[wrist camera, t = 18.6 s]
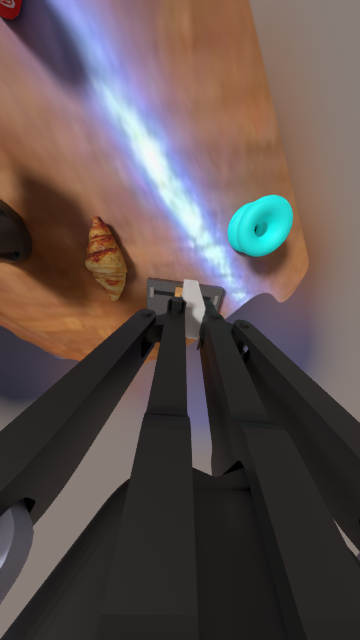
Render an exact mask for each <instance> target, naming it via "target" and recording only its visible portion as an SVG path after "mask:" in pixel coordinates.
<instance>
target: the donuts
mask: <svg viewBox="0 0 360 640" xmlns="http://www.w3.org/2000/svg"><path fill="white" fill-rule="evenodd" d="M292 222H293V212H292V208H291V206H290V204H289V202H288V201H287V200H286V199H284V198H283V197H281V196H277V195H269V196H265V197H262V198H260V199H258V200H256V201H255V202H251V203H248V204H246V205H244V206H242V207H241V208H240V209H238V210H237V212H236V213H235V214H234V215H233V217H232V219H231V221H230V223H229V227H228V240H229V243H230V244H231V246H232V247H233V248H234V249H235V250H237V251H239V252H244V253H246V254H247V255H250V256H254V257H259V256H264V255H267V254H269V253H271V252H273V251H274V250H276V249H277V248H278V247H279V246H280V245H281V244H282V243H283V242H284V241H285V239H286V238H287V236H288V234H289V232H290V230H291V227H292ZM256 225H257V229H256V232H255V227H256Z"/></svg>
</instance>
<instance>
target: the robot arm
mask: <svg viewBox="0 0 360 640" xmlns="http://www.w3.org/2000/svg"><path fill="white" fill-rule="evenodd" d="M31 250H32V243H31V238H30V235H29V233H28V231H27V229H26V227H25V225H24V223H23V222H22V220H21V219H20V218H19V216H18V215H17V214H16V213H15V212H14V211H13V210H12V209H11V208H10V207H9V206H8V205H7V204H5V203H4V202H3V201H1V200H0V263H16V262H21V261H24V260H26V259H27V258H28V257H29V256H30V254H31ZM199 333H200V339H199V343H198V347H197V350H198V349H199V348H200V355H201V363H202V371H203V379H204V386H205V394H206V402H207V408H208V417H209V424H210V432H211V440H212V458H211V468H212V476H211V475H208V474H206V473H204V472H202V471H200V470H197V469H195V468H193V467H192V448H191V427H190V418H189V417H188V414H187V387H186V386H187V384H186V338H185V337H189V338H198V337H199ZM155 342H160V347H159V352H158V357H157V362H156V367H155V372H154V377H153V382H152V387H151V391H150V396H149V401H148V407H147V410H146V413H145V414H144V418H143V421H142V426H141V430H140V435H139V440H138V444H137V449H136V454H135V458H134V463H133V468H132V472H131V477H130V479H128V480H127V481H125V482H124V483H123V484H122V485H121V486H120V487H118V488H117V490H116V491H115V492H114V493H113V494H112V495H111V496H110V497H109V498H108V499H107V501H106V502H105V503H104V504H103V506H102V507H101V508H100V510H99V511H98V512H97V514H96V515H95V516H94V518H93V519H92V520H91V521H90V523H89V524H88V525H87V527H86V528H85V529H84V531H83V532H82V533H81V534H80V536H79V537H78V538H77V540H76V541H75V542H74V544H73V545H72V546H71V547H70V549H69V550H68V551H67V553H66V554H65V556H64V557H63V558H62V559H61V561H60V562H59V563H58V565H57V566H56V567H55V569H54V570H53V571H52V572H51V574H50V575H49V576H48V578H47V579H46V580H45V582H44V583H43V584H42V586H41V587H40V588H39V590H38V591H37V592H36V593H35V595H34V596H33V597H32V599H31V600H30V601H29V603H28V604H27V605H26V606H25V608H24V609H23V610H22V612H21V613H20V614H19V616H18V617H17V618H16V620H15V621H14V622H13V623H12V625H11V626H10V627H9V629H8V630H7V631H6V633H5V634H4V635H3V637H2V638H1V639H0V640H360V553H359V554H358V555H357V557H356V556H355V555H354V553H353V552H352V551H351V550H350V549H349V548H348V547H347V545H346V543H345V541H344V539H343V537H342V535H341V533H340V531H339V529H338V527H337V525H336V523H335V522H334V520H335V521H336V522H337V524H338V525H339V527H340V528H341V529H342V531H343V532H344V533H345V534H346V536H347V537H348V538H349V539H350V540H351V542H352V543H353V544H354V545H355V546H356V548H357V549H358V550H359V551H360V423H359V422H358V421H357V420H356V419H355V418H354V417H353V416H352V415H351V414H350V413H348V412H347V411H346V410H345V409H344V408H343V407H342V406H341V405H340V404H339V403H337V402H336V401H335V400H334V399H333V398H332V397H331V396H330V395H329V394H328V393H327V392H325V391H324V390H323V389H322V388H321V387H320V386H319V385H318V384H317V383H316V382H314V381H313V380H312V379H311V378H310V377H309V376H308V375H307V374H306V373H305V372H304V371H302V370H301V369H300V368H299V367H298V366H297V365H296V364H295V363H294V362H293V361H291V360H290V359H289V358H288V357H287V356H286V355H285V354H284V353H283V352H282V351H281V350H279V349H278V348H277V347H276V346H275V345H274V344H273V343H272V342H271V341H270V340H269V339H267V338H266V337H265V336H264V335H263V334H262V333H261V332H260V331H259V330H257V329H256V328H255V327H254V326H253V325H252V324H251V323H249V322H247V321H245V320H236V321H235V322H234V324H231V323H228V322H225V320H224V318H223V316H222V315H220V314H218V313H217V312H216V309H215V307H214V304H213V302H211V301H210V300H204V299H203V298H202V294H201V291H200V287H199V284H198V281H194V280H186V279H184V284H183V292H182V297H177V296H172V297H171V298H170V299H168V304H167V312H166V313H165V314H162V315H156V312H155V311H153V310H150V309H142V310H139V311H138V312H136V313H135V314H134V315H133V316H132V317H131V318H130V319H128V320H127V321H126V322H125V323H124V324H123V325H122V326H120V327H119V328H118V329H117V330H116V331H115V332H114V333H112V334H111V335H110V336H109V337H108V338H107V339H106V340H104V341H103V342H102V343H101V344H100V345H99V346H98V347H96V348H95V349H94V350H93V351H92V352H91V353H90V354H88V355H87V356H86V357H85V358H84V359H83V360H82V361H80V363H78V364H77V365H76V366H75V367H74V368H73V369H71V370H70V371H69V372H68V373H67V374H66V375H64V376H63V377H62V378H61V379H60V380H59V381H58V382H57V383H55V384H54V385H53V386H52V387H51V388H50V389H48V390H47V391H46V392H45V393H44V394H43V395H42V396H40V397H39V398H38V399H37V400H36V401H35V402H33V403H32V404H31V405H30V406H29V407H28V408H27V409H25V410H24V411H23V412H22V413H21V414H20V415H19V416H18V417H16V418H15V419H14V420H13V421H12V422H11V423H9V424H8V425H7V426H6V427H5V428H4V429H3V430H1V431H0V604H1V602H2V601H3V599H4V598H5V596H6V595H7V593H8V592H9V590H10V588H11V587H12V585H13V584H14V582H15V581H16V579H17V578H18V576H19V574H20V572H21V570H22V568H23V566H24V564H25V562H26V560H27V557H28V555H29V551H30V548H31V545H32V540H33V533H34V531H33V526H34V524H35V523H36V522H37V521H38V520H39V519H40V517H41V516H42V515H43V514H44V513H45V511H46V510H47V509H48V508H49V506H50V505H51V504H52V502H53V501H54V500H55V498H56V497H57V496H58V495H59V493H60V492H61V491H62V489H63V488H64V486H65V484H66V483H67V482H68V480H69V479H70V477H71V476H72V474H73V473H74V472H75V470H76V468H77V467H78V465H79V464H80V462H81V461H82V459H83V457H84V456H85V454H86V453H87V451H88V450H89V448H90V446H91V445H92V443H93V442H94V440H95V438H96V437H97V435H98V434H99V432H100V430H101V429H102V427H103V426H104V424H105V423H106V421H107V420H108V418H109V416H110V415H111V413H112V412H113V410H114V408H115V407H116V405H117V404H118V402H119V401H120V399H121V397H122V396H123V394H124V393H125V391H126V390H127V388H128V386H129V385H130V383H131V382H132V380H133V379H134V377H135V375H136V374H137V372H138V371H139V369H140V367H141V366H142V364H143V363H144V361H145V360H146V358H147V356H148V355H149V353H150V352H151V350H152V349H153V347H154V345H155ZM245 346H247V347H248V348H249V349H248V350H247V352H245V351H244V348H245ZM332 517H333V518H332ZM333 519H334V520H333Z"/></svg>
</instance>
